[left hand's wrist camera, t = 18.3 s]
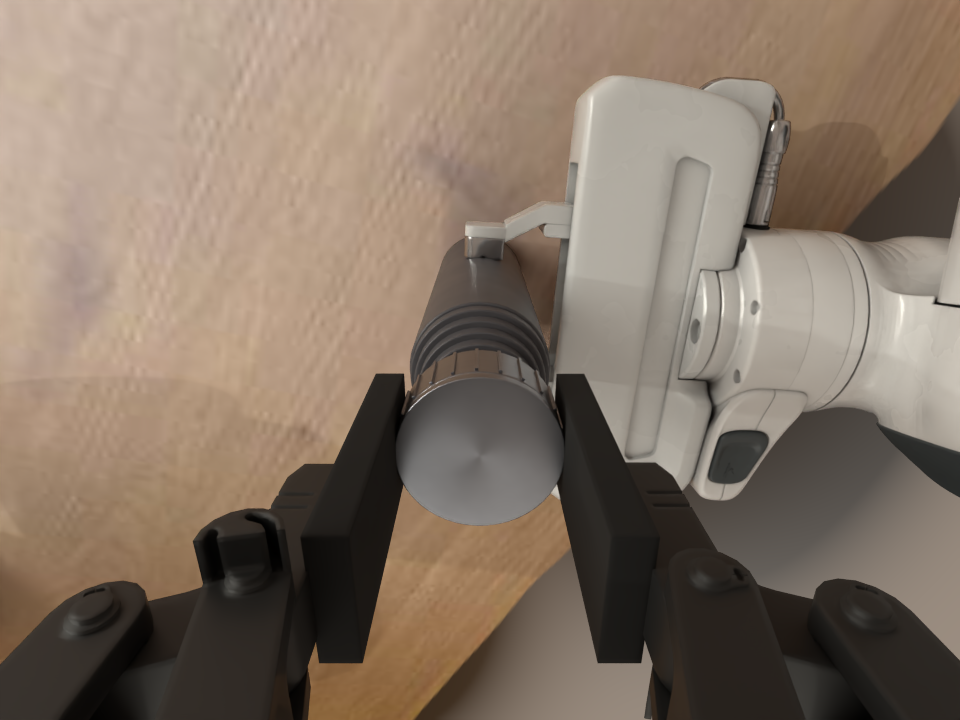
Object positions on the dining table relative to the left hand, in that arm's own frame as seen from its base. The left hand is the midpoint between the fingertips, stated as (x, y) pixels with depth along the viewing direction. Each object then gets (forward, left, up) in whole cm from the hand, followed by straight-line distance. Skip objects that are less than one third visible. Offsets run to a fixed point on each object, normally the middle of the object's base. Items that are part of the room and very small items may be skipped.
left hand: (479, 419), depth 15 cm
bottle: (0, 0, -18) cm, 18 cm away
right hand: (-1, +1, -12) cm, 12 cm away
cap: (0, 0, +2) cm, 2 cm away
